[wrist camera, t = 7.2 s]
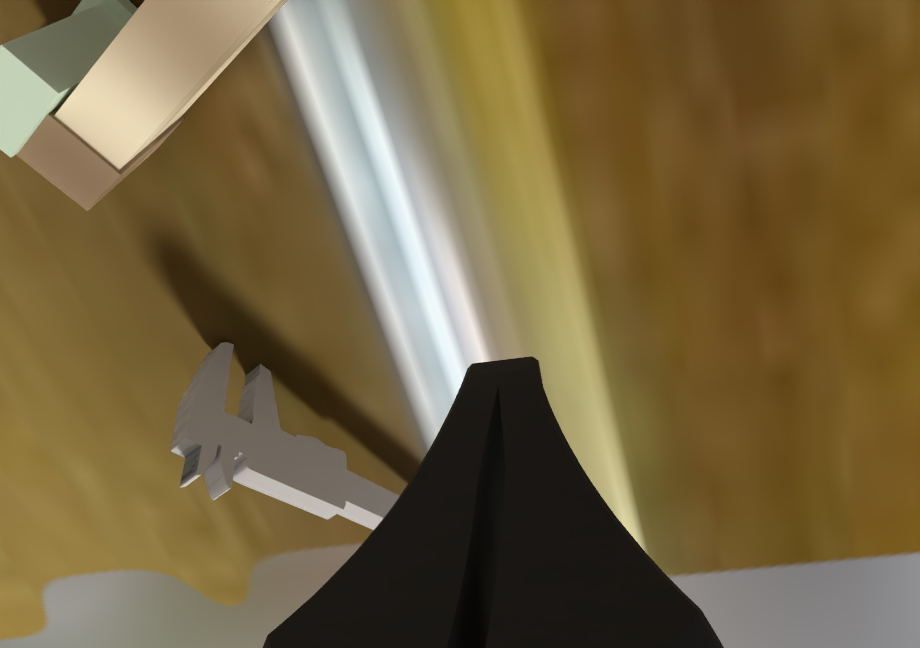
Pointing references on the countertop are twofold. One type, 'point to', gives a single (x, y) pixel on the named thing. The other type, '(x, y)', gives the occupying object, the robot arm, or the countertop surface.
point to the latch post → (53, 66)
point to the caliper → (265, 449)
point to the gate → (140, 91)
